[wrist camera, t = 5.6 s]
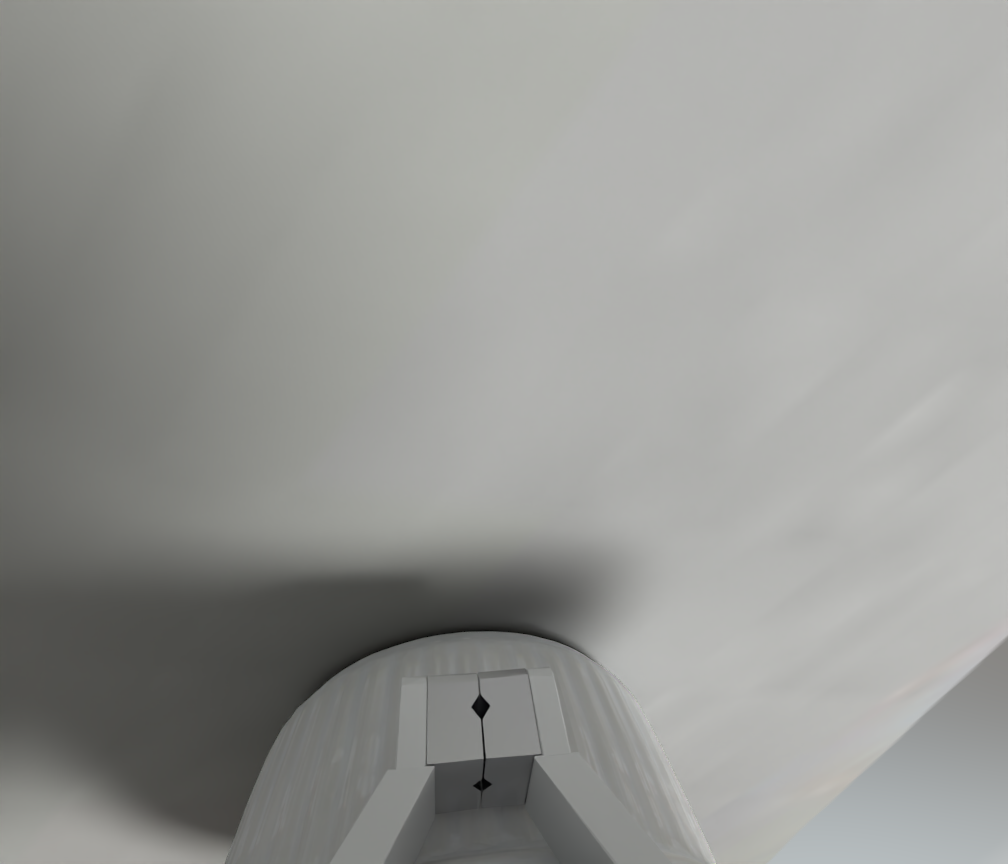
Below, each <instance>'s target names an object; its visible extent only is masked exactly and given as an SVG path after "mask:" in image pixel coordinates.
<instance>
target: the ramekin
mask: <svg viewBox="0 0 1008 864" xmlns="http://www.w3.org/2000/svg"><path fill="white" fill-rule="evenodd" d="M542 667H550V668H551V670H552V672H553V673H554V678H555V682H556V687H557V691H558V696H559V700H560V705H561V709H562V714H563V718H564V723H565V727H566V732H567V737H568V741H569V746H570V750H571V752H579V753H580V755H581V756H582V757H583V758H584V759H585V761H586V762H587V763H588V764H589V765H590V767H591V768H592V769H593V770H594V771H595V773H596V774H597V775H598V776H599V777H600V778H601V780H602V781H603V782H604V783H605V784H606V786H607V787H608V788H609V789H610V790H611V792H612V793H613V794H614V795H615V796H616V798H617V799H618V800H619V801H620V802H621V803H622V805H623V806H624V807H625V808H626V809H627V811H628V812H629V813H630V814H631V815H632V817H633V818H634V819H635V820H636V821H637V822H638V824H639V825H640V826H641V827H642V828H643V830H644V831H645V832H646V833H647V834H648V836H649V837H650V838H651V839H652V840H653V842H654V843H655V844H656V845H657V846H658V847H659V849H660V850H661V851H662V852H663V853H664V855H665V856H666V857H667V858H668V859H669V861H670V862H671V863H672V864H716V861H715V859H714V857H713V854H712V852H711V850H710V848H709V845H708V843H707V841H706V839H705V837H704V835H703V833H702V831H701V829H700V826H699V824H698V822H697V820H696V818H695V816H694V813H693V811H692V809H691V807H690V805H689V803H688V800H687V798H686V796H685V794H684V792H683V790H682V788H681V786H680V784H679V781H678V779H677V777H676V775H675V773H674V771H673V769H672V767H671V765H670V763H669V761H668V759H667V756H666V754H665V752H664V750H663V749H662V747H661V745H660V743H659V741H658V739H657V737H656V735H655V733H654V731H653V729H652V727H651V725H650V724H649V722H648V720H647V718H646V717H645V715H644V713H643V711H642V709H641V707H640V706H639V704H638V702H637V700H636V699H635V698H634V696H633V695H632V693H631V692H630V691H629V690H628V688H626V687H625V686H624V685H623V684H622V682H621V681H620V680H619V679H618V678H617V677H616V676H615V675H613V674H612V673H611V672H609V671H608V670H606V669H605V668H604V667H603V666H601V665H600V664H598V663H596V662H594V661H592V660H591V659H590V658H588V657H587V656H585V655H583V654H582V653H580V652H579V651H576V650H574V649H572V648H570V647H568V646H566V645H563V644H561V643H558V642H555V641H552V640H548V639H544V638H540V637H536V636H532V635H526V634H520V633H510V632H495V631H482V632H459V633H450V634H443V635H436V636H431V637H425V638H421V639H417V640H413V641H410V642H406V643H403V644H400V645H397V646H394V647H391V648H388V649H385V650H382V651H379V652H376V653H374V654H371V655H369V656H367V657H365V658H363V659H361V660H359V661H357V662H356V663H354V664H352V665H350V666H348V667H347V668H345V669H344V670H342V671H341V672H339V673H338V674H336V675H335V676H334V677H332V678H331V679H330V680H329V681H327V682H326V683H325V684H324V685H323V686H322V687H321V688H320V689H319V690H317V691H316V692H315V693H314V694H313V695H312V696H311V697H310V698H309V699H308V700H306V701H305V702H304V703H303V704H301V705H300V706H299V707H298V708H297V709H296V711H295V712H294V714H293V715H292V717H291V718H290V719H289V720H288V721H287V722H286V724H285V725H284V726H283V728H282V729H281V731H280V733H279V735H278V737H277V739H276V740H275V742H274V744H273V746H272V748H271V750H270V751H269V753H268V755H267V758H266V760H265V762H264V764H263V767H262V769H261V771H260V774H259V776H258V778H257V781H256V783H255V786H254V788H253V790H252V793H251V795H250V798H249V800H248V803H247V805H246V808H245V810H244V813H243V816H242V819H241V821H240V824H239V827H238V829H237V832H236V835H235V837H234V840H233V843H232V845H231V848H230V851H229V853H228V856H227V859H226V862H225V864H329V863H330V862H331V860H332V858H333V857H334V855H335V853H336V852H337V850H338V849H339V847H340V845H341V844H342V842H343V840H344V839H345V837H346V836H347V834H348V832H349V831H350V829H351V827H352V826H353V824H354V822H355V821H356V819H357V818H358V816H359V814H360V813H361V811H362V809H363V808H364V806H365V805H366V803H367V801H368V800H369V798H370V796H371V795H372V793H373V791H374V790H375V788H376V787H377V785H378V783H379V782H380V780H381V778H382V777H383V775H384V773H385V772H386V770H389V769H395V757H396V741H397V725H398V710H399V694H400V684H401V679H402V678H403V677H415V676H427V679H428V676H436V675H451V674H466V673H476V674H478V672H488V671H499V670H511V669H522V668H525V669H529V668H542ZM414 864H560V862H559V861H558V859H557V858H556V856H555V855H554V853H553V852H552V850H551V849H550V847H549V846H548V844H547V842H546V841H545V839H544V838H543V836H542V834H541V833H540V831H539V830H538V828H537V826H536V825H535V823H534V822H533V820H532V818H531V817H530V815H529V813H528V812H527V810H526V809H525V805H517V806H504V807H491V808H481V797H480V806H479V808H478V809H471V810H464V811H456V812H449V813H441V814H435V819H434V822H433V824H432V826H431V828H430V830H429V833H428V835H427V837H426V839H425V841H424V844H423V846H422V848H421V850H420V852H419V855H418V857H417V859H416V861H415V863H414Z"/></svg>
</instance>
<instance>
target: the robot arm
mask: <svg viewBox="0 0 1008 864" xmlns="http://www.w3.org/2000/svg"><path fill="white" fill-rule="evenodd" d="M480 797H481V808H491V807H504V806H517V805H525V809H526V810H527V812H528V813H529V815H530V817H531V818H532V820H533V822H534V823H535V825H536V826H537V828H538V830H539V831H540V833H541V834H542V836H543V838H544V839H545V841H546V842H547V844H548V846H549V847H550V849H551V850H552V852H553V853H554V855H555V856H556V858H557V859H558V861H559V862H560V864H672V863H671V862H670V861H669V859H668V858H667V857H666V856H665V855H664V853H663V852H662V851H661V850H660V849H659V847H658V846H657V845H656V844H655V843H654V842H653V840H652V839H651V838H650V837H649V836H648V834H647V833H646V832H645V831H644V830H643V828H642V827H641V826H640V825H639V824H638V822H637V821H636V820H635V819H634V818H633V817H632V815H631V814H630V813H629V812H628V811H627V809H626V808H625V807H624V806H623V805H622V803H621V802H620V801H619V800H618V799H617V798H616V796H615V795H614V794H613V793H612V792H611V790H610V789H609V788H608V787H607V786H606V784H605V783H604V782H603V781H602V780H601V778H600V777H599V776H598V775H597V774H596V773H595V771H594V770H593V769H592V768H591V767H590V765H589V764H588V763H587V762H586V761H585V759H584V758H583V757H582V756H581V755H580V753H579V752H571V750H570V746H569V741H568V737H567V732H566V727H565V723H564V718H563V714H562V709H561V705H560V700H559V696H558V691H557V687H556V682H555V678H554V673H553V672H552V670H551V668H550V667H542V668H529V669H525V668H522V669H511V670H499V671H488V672H478V674H476V673H466V674H451V675H436V676H428V679H427V676H415V677H403V678H402V679H401V684H400V694H399V710H398V725H397V741H396V757H395V769H389V770H386V772H385V773H384V775H383V777H382V778H381V780H380V782H379V783H378V785H377V787H376V788H375V790H374V791H373V793H372V795H371V796H370V798H369V800H368V801H367V803H366V805H365V806H364V808H363V809H362V811H361V813H360V814H359V816H358V818H357V819H356V821H355V822H354V824H353V826H352V827H351V829H350V831H349V832H348V834H347V836H346V837H345V839H344V840H343V842H342V844H341V845H340V847H339V849H338V850H337V852H336V853H335V855H334V857H333V858H332V860H331V862H330V863H329V864H414V863H415V861H416V859H417V857H418V855H419V852H420V850H421V848H422V846H423V844H424V841H425V839H426V837H427V835H428V833H429V830H430V828H431V826H432V824H433V822H434V819H435V814H441V813H449V812H456V811H464V810H471V809H478V808H479V806H480Z"/></svg>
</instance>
